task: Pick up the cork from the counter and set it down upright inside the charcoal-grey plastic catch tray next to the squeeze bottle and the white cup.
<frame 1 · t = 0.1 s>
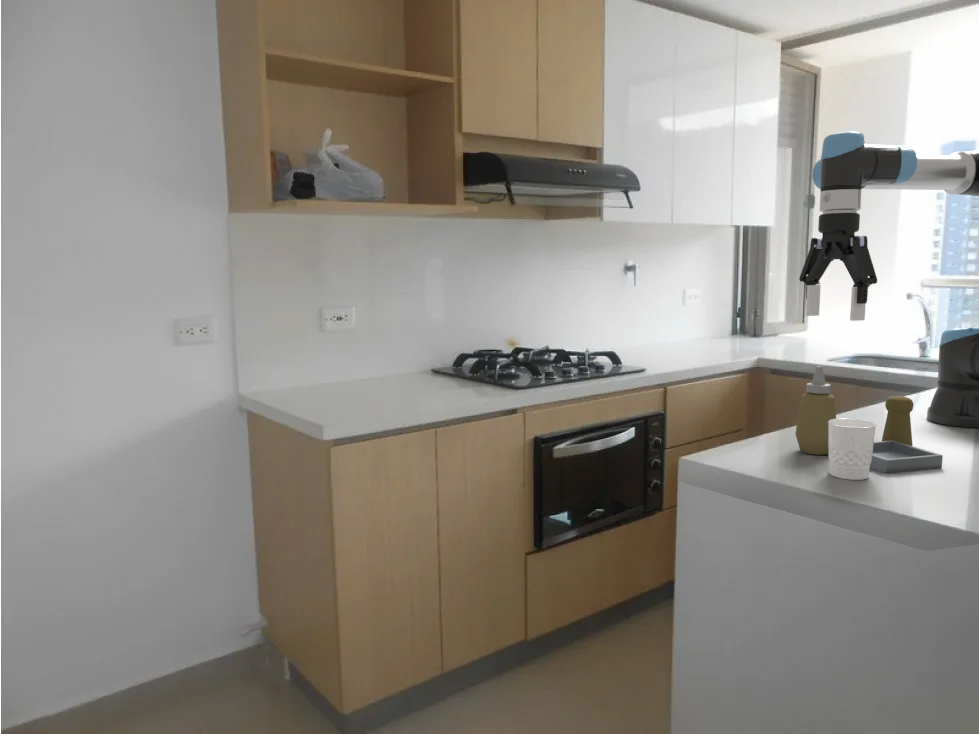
hand: (833, 318, 154), 28 cm above the countertop, tool pointing down, fingers open, 13 cm apart
squeeze bottle: (815, 452, 157), on the countertop
catch tray: (889, 462, 148), on the countertop
white cup: (848, 476, 140), on the countertop
cork: (896, 448, 159), on the countertop
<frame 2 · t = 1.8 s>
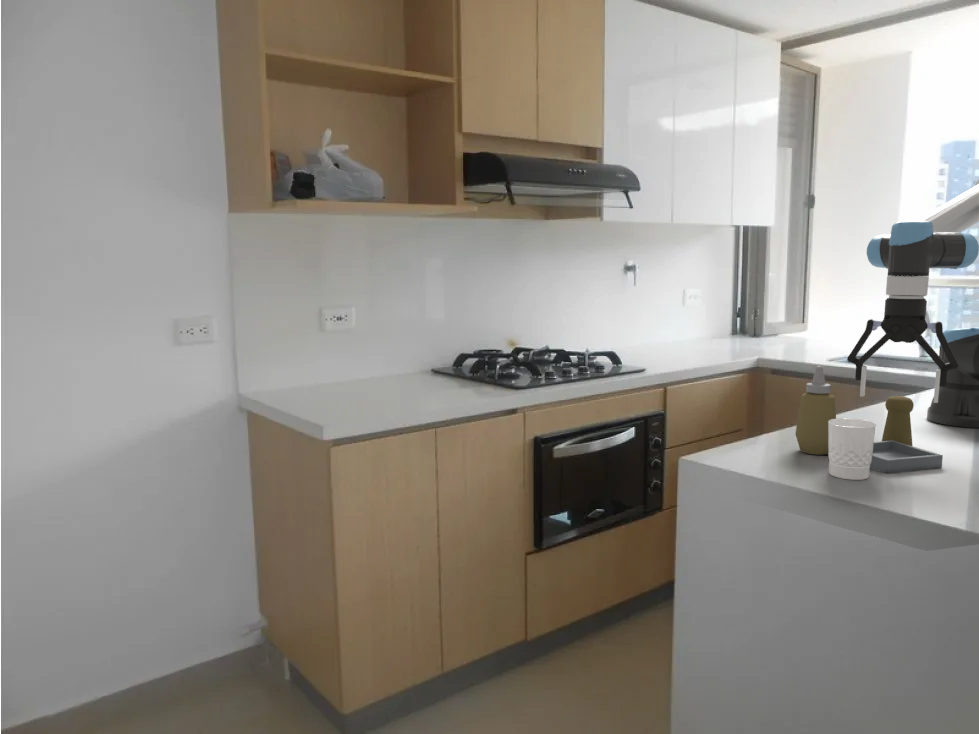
hand: (898, 398, 157), 11 cm above the countertop, tool pointing down, fingers open, 13 cm apart
nothing on the countertop moved.
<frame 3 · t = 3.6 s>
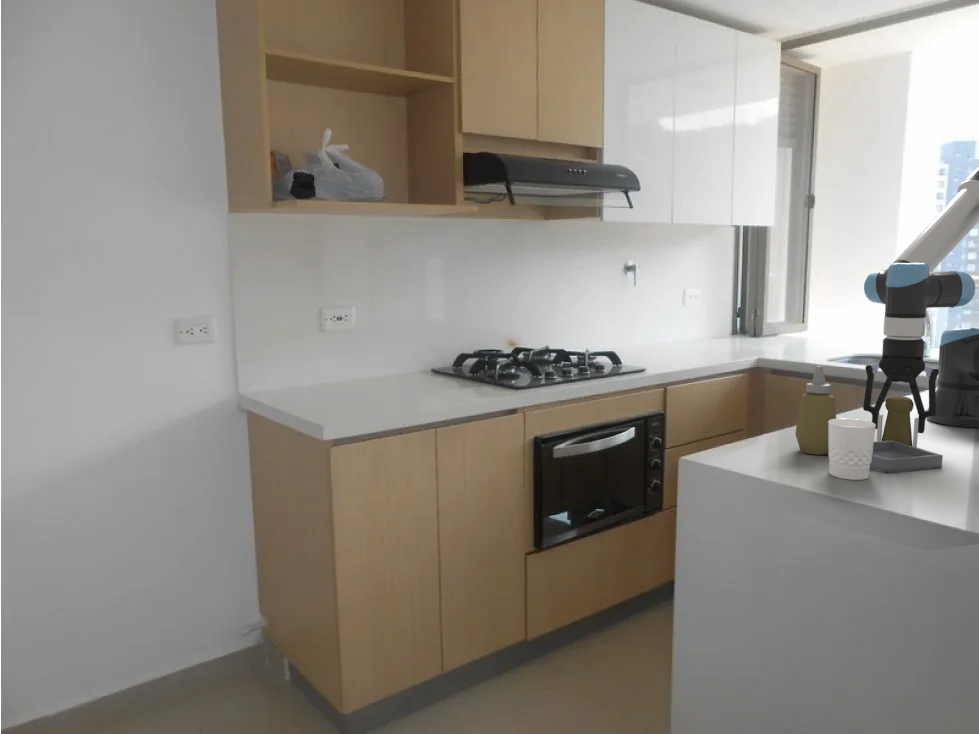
hand: (896, 445, 159), 0 cm above the countertop, tool pointing down, fingers closed on cork, 6 cm apart
cork: (896, 448, 159), on the countertop, touching gripper
everything else where it was.
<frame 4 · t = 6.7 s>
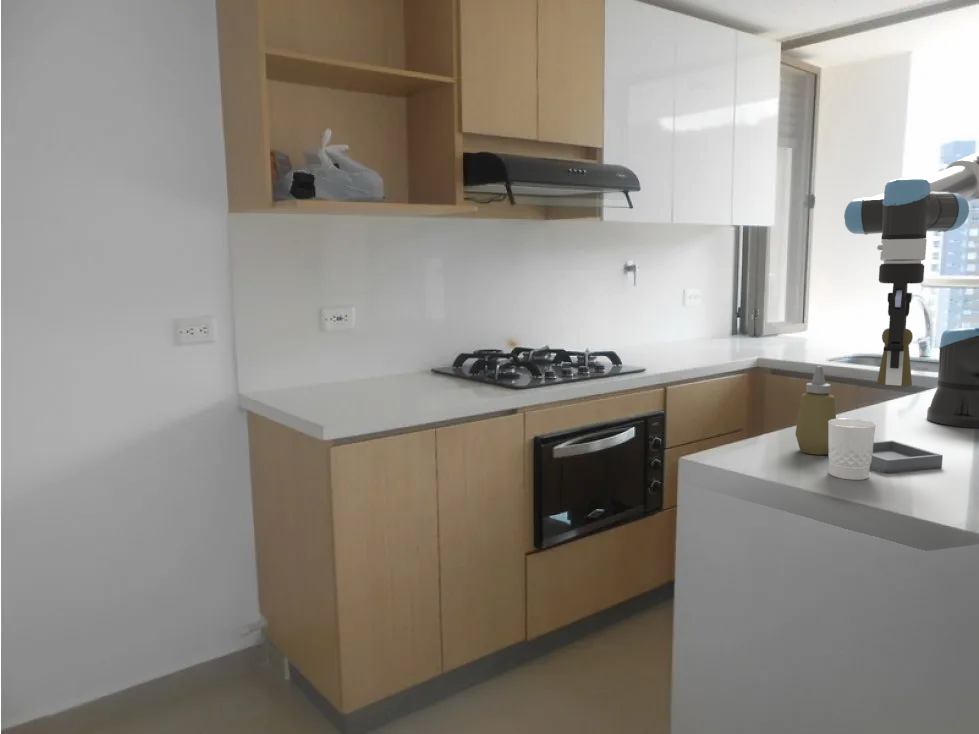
hand: (894, 382, 146), 16 cm above the countertop, tool pointing down, fingers closed on cork, 6 cm apart
cork: (894, 385, 146), point 15 cm above the countertop, touching gripper
everything else where it was.
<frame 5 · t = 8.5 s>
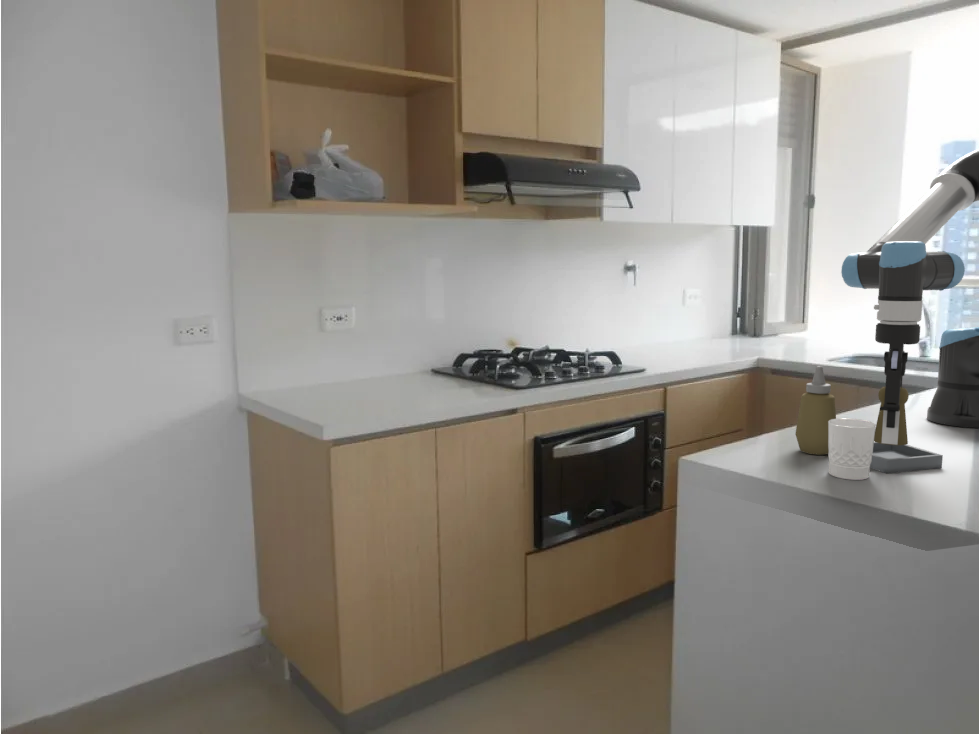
hand: (890, 439, 147), 5 cm above the countertop, tool pointing down, fingers closed on cork, 6 cm apart
cork: (890, 442, 147), point 4 cm above the countertop, touching gripper
everything else where it was.
when the fingers open (3 cm above the countertop, at t = 9.7 s): cork drops 1 cm, resting on catch tray.
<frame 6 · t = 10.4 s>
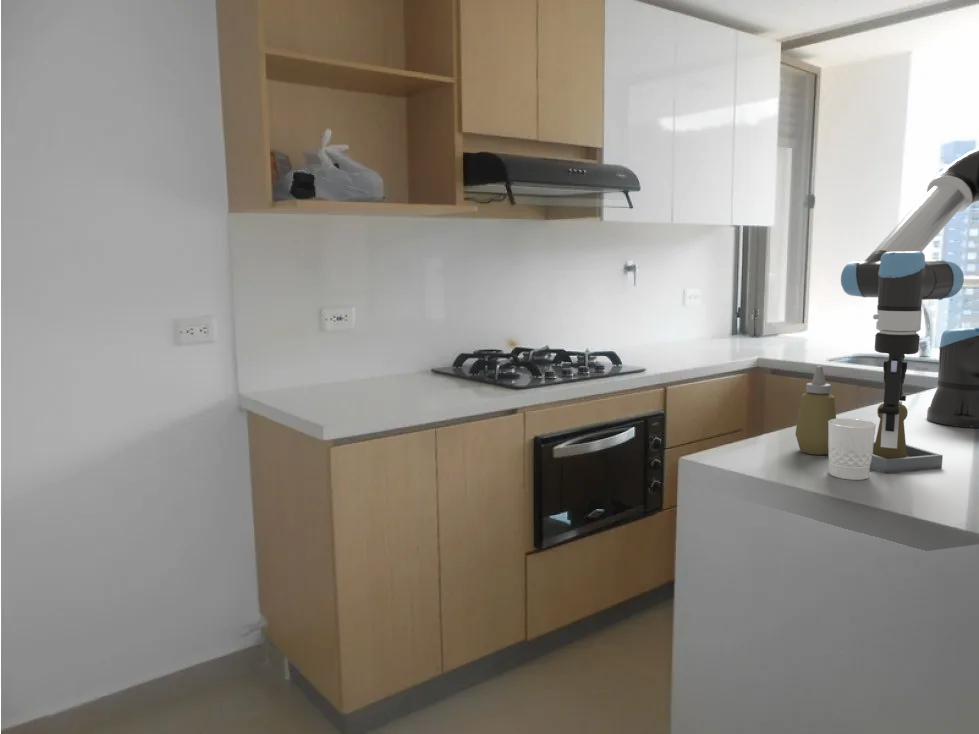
hand: (890, 439, 147), 5 cm above the countertop, tool pointing down, fingers open, 13 cm apart
cork: (889, 459, 148), point 1 cm above the countertop, touching catch tray
everything else where it was.
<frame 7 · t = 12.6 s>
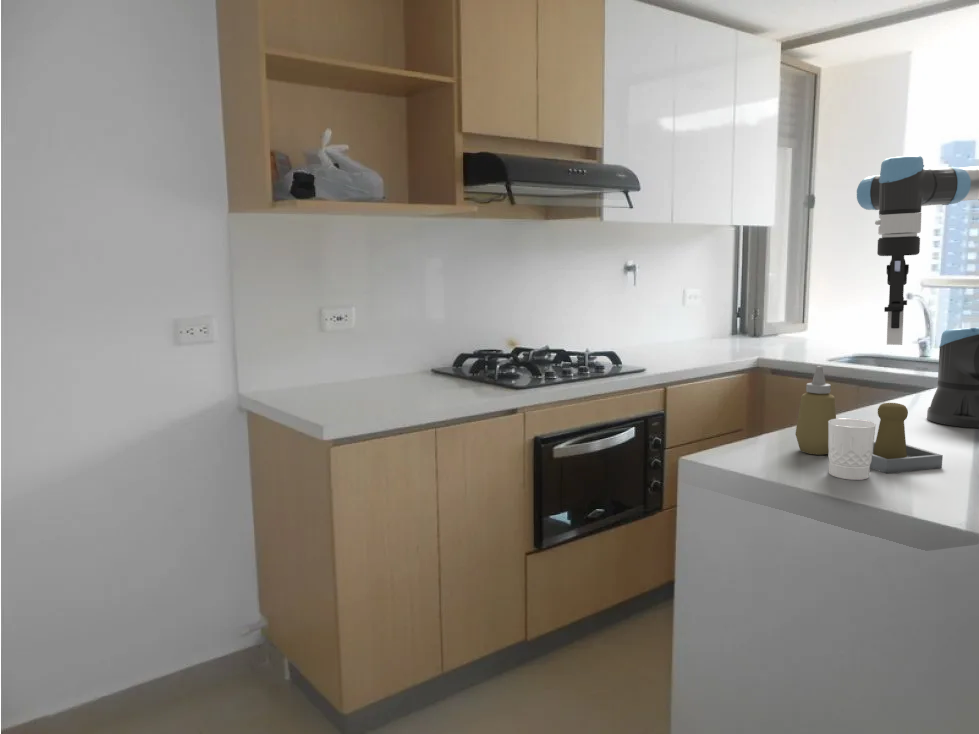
hand: (894, 340, 154), 23 cm above the countertop, tool pointing down, fingers open, 13 cm apart
nothing on the countertop moved.
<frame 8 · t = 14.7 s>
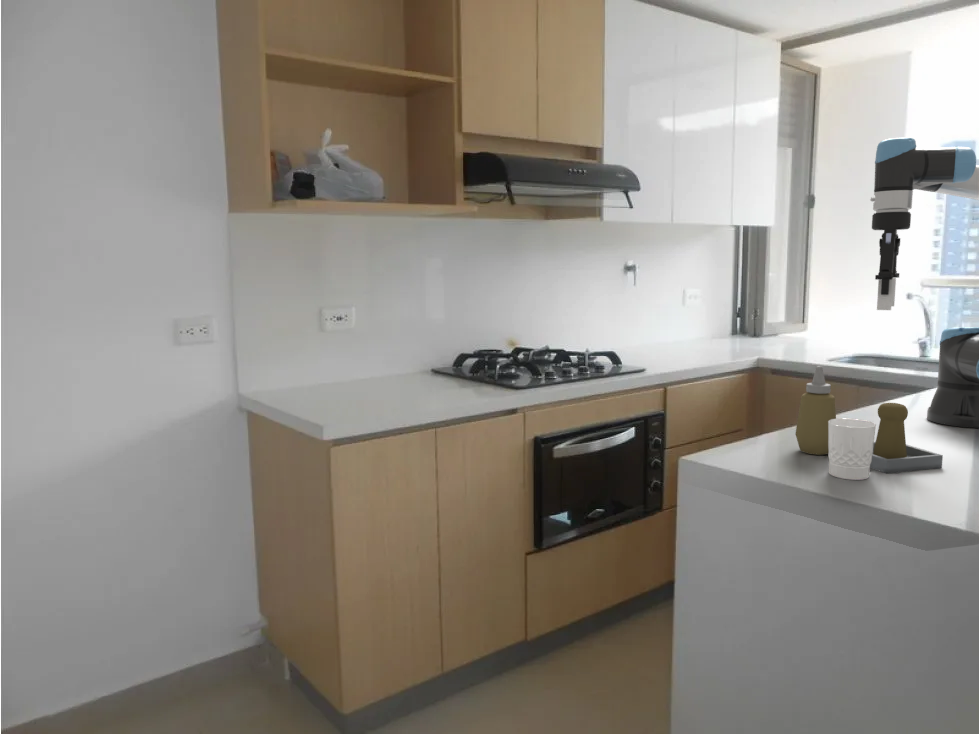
hand: (885, 308, 168), 29 cm above the countertop, tool pointing down, fingers open, 13 cm apart
nothing on the countertop moved.
at the end: cork inside the target area on the catch tray (0.0 cm from its centre), point 0.6 cm above the catch tray's base; cork tilted 0°; the gripper is holding nothing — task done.
